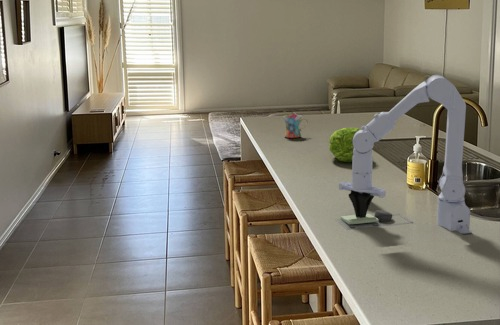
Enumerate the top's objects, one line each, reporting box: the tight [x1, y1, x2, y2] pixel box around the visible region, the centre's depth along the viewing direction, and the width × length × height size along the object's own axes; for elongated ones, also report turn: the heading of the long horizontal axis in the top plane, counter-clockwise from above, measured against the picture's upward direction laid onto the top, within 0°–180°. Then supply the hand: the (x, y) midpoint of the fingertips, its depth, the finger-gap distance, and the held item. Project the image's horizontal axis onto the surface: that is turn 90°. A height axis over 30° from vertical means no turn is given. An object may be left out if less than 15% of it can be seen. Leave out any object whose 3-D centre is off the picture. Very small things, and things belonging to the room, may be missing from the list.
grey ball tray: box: [336, 213, 414, 230], centre depth 190 cm, size 9×20×2 cm, turn 103°
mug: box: [283, 114, 308, 139], centre depth 323 cm, size 12×9×11 cm
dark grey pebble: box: [373, 209, 393, 223], centre depth 191 cm, size 5×5×2 cm
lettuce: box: [328, 127, 362, 163], centre depth 275 cm, size 17×24×14 cm
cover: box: [340, 213, 380, 224], centre depth 190 cm, size 7×9×1 cm
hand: (360, 216), depth 191 cm, fingers closed, pressing on cover
